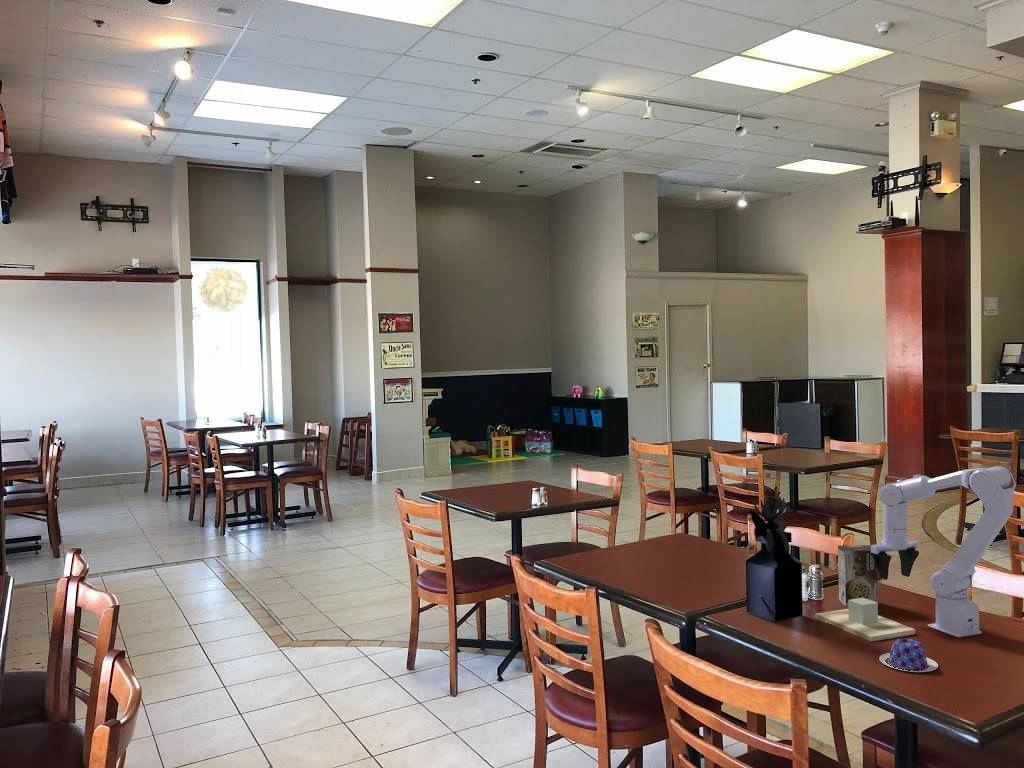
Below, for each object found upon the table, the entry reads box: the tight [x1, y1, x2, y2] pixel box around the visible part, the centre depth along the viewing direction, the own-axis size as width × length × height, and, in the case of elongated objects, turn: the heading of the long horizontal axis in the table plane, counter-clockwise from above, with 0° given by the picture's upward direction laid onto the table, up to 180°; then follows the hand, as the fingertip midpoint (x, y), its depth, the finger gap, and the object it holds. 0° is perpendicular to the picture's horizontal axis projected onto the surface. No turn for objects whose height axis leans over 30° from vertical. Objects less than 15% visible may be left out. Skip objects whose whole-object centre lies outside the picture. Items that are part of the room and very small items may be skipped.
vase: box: [745, 486, 804, 623], centre depth 218 cm, size 14×12×35 cm
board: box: [814, 608, 916, 642], centre depth 208 cm, size 20×14×4 cm
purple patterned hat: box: [879, 638, 939, 673], centre depth 182 cm, size 12×12×5 cm
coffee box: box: [837, 544, 879, 607], centre depth 227 cm, size 9×6×16 cm
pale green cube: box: [847, 598, 879, 625], centre depth 208 cm, size 5×5×5 cm
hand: (894, 577), depth 216 cm, fingers open, 7 cm apart
